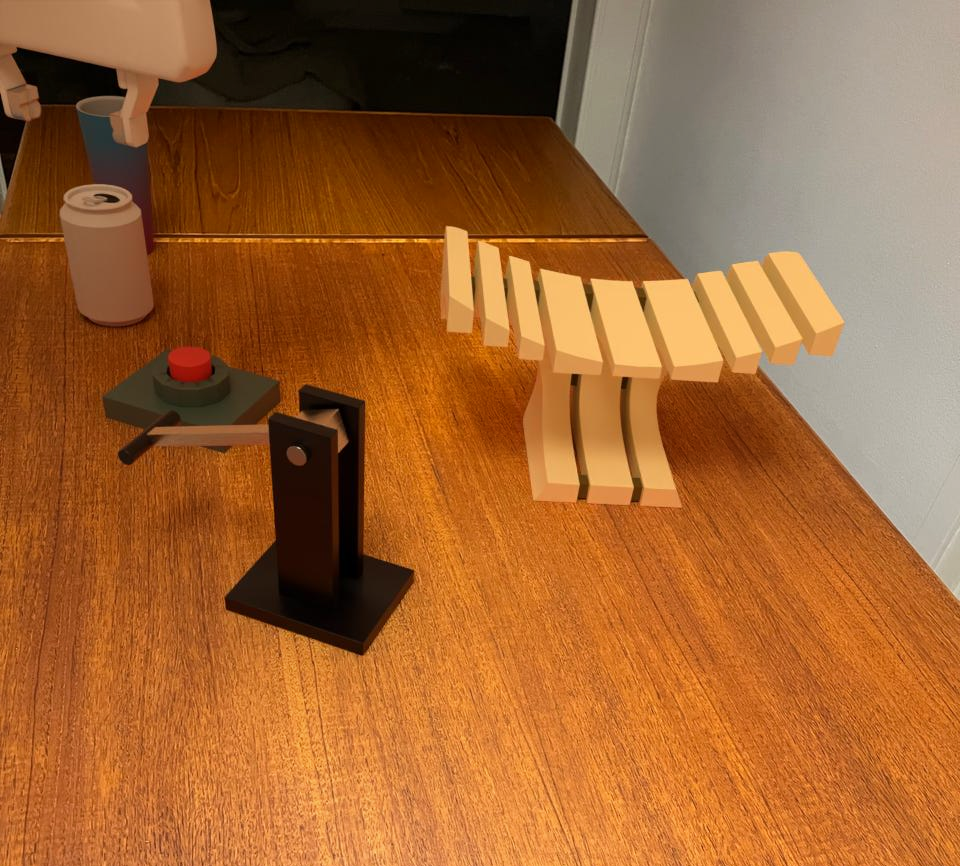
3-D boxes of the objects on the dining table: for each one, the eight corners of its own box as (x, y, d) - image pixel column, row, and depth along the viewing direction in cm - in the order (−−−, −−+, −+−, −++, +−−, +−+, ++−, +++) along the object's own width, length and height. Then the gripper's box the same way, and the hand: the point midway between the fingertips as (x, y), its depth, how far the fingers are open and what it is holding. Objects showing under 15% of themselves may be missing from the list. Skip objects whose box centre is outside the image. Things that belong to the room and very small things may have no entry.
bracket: (225, 609, 73) (203, 419, 62) (285, 541, 79) (275, 358, 69) (362, 656, 71) (365, 467, 60) (413, 581, 77) (424, 399, 66)
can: (170, 311, 105) (155, 193, 97) (117, 337, 100) (97, 215, 92) (117, 290, 107) (98, 173, 99) (62, 314, 103) (38, 194, 94)
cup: (131, 231, 119) (110, 91, 108) (175, 247, 116) (158, 106, 106) (87, 248, 114) (61, 105, 104) (132, 265, 112) (109, 120, 102)
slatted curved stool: (735, 416, 100) (789, 237, 88) (776, 512, 88) (844, 322, 76) (433, 398, 97) (445, 211, 85) (435, 495, 86) (449, 295, 73)
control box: (106, 418, 90) (98, 377, 87) (169, 369, 97) (164, 330, 94) (224, 454, 87) (220, 413, 85) (280, 401, 94) (278, 362, 92)
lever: (125, 473, 70) (110, 442, 69) (174, 432, 74) (161, 402, 73) (320, 473, 64) (309, 439, 62) (361, 428, 68) (351, 395, 66)
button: (162, 377, 89) (159, 359, 87) (185, 360, 91) (182, 342, 90) (198, 388, 88) (195, 370, 87) (219, 370, 90) (218, 352, 89)
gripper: (225, -116, 55) (244, 149, 65) (-76, -168, 60) (-17, 88, 69) (159, -104, 51) (189, 178, 61) (-161, -161, 55) (-86, 111, 65)
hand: (77, 130), depth 65 cm, fingers open, 7 cm apart
